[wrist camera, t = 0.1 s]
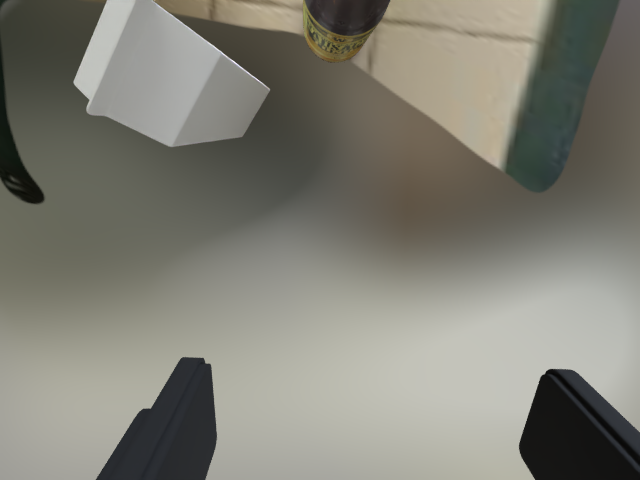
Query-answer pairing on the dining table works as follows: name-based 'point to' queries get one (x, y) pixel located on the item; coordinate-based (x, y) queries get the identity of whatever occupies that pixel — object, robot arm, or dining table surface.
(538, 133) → the dining table surface
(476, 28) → the dining table surface
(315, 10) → the sauce bottle
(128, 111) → the milk
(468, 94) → the dining table surface
